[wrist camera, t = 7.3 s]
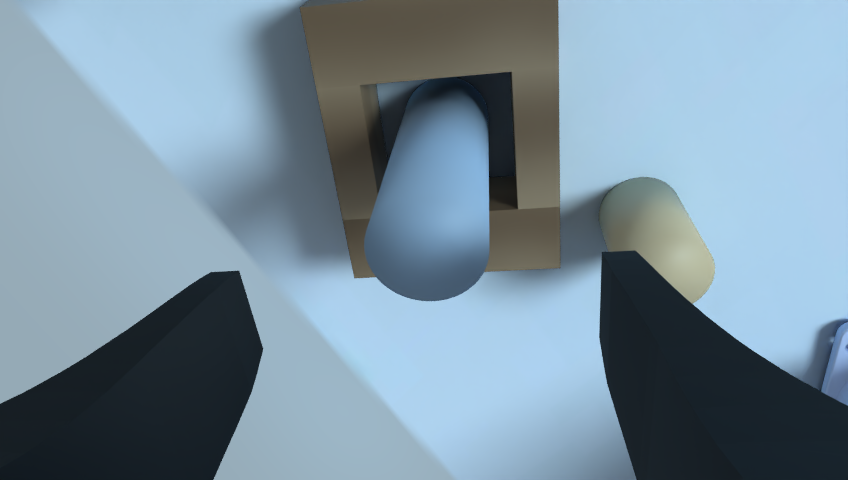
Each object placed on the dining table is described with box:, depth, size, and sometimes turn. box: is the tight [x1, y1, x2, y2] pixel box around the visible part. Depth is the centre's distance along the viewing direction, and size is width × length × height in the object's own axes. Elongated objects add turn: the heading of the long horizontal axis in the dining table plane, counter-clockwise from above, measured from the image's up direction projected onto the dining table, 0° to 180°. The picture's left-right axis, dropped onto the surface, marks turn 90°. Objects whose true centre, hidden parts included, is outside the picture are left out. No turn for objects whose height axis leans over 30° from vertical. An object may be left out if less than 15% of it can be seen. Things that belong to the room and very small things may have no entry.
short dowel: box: [599, 177, 715, 304], centre depth 21 cm, size 3×3×4 cm
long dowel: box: [364, 77, 489, 301], centre depth 18 cm, size 3×3×8 cm
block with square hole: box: [300, 0, 560, 278], centre depth 21 cm, size 9×7×2 cm
